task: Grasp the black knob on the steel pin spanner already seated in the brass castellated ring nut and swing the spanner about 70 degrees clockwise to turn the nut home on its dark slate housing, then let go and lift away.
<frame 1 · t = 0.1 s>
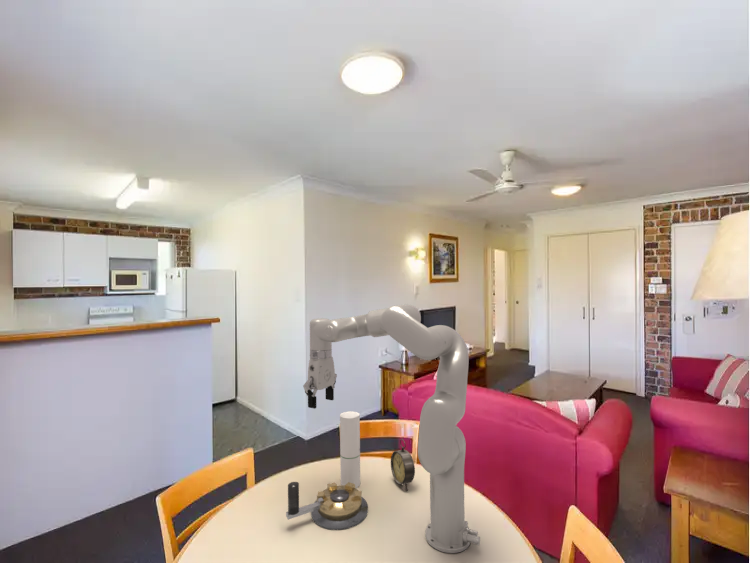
hand: (321, 403, 126), 31 cm above the table, tool pointing down, fingers open, 9 cm apart
cylindrical container: (350, 484, 132), on the table
housing: (339, 511, 116), on the table
alarm clock: (403, 485, 131), on the table
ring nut: (324, 493, 113), point 7 cm above the table, hinge at 0.0°
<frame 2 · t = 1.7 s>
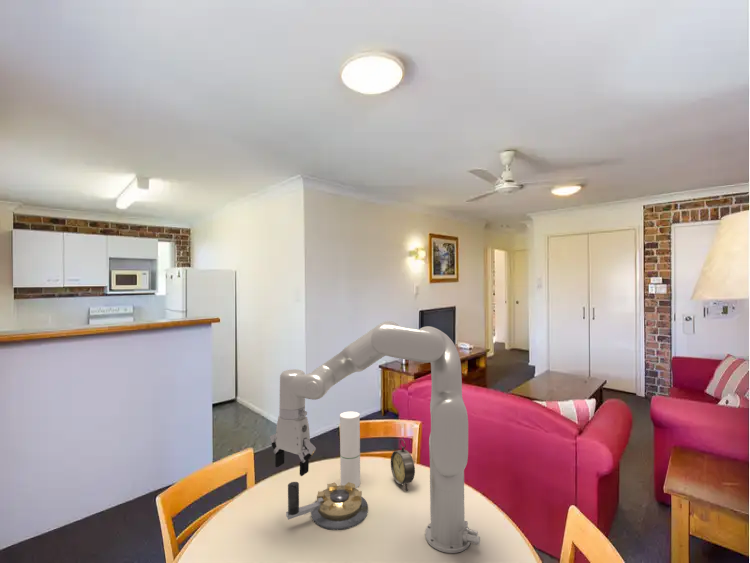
hand: (291, 469, 109), 17 cm above the table, tool pointing down, fingers open, 9 cm apart
nothing on the table moved.
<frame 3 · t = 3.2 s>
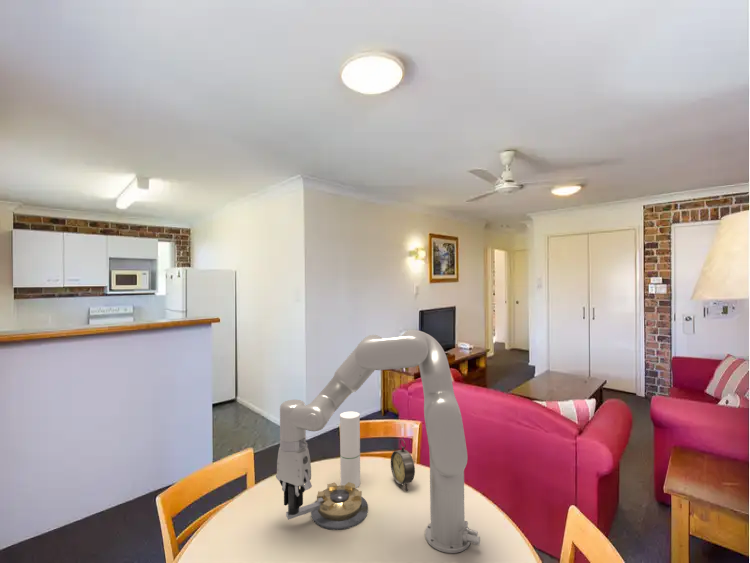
hand: (293, 504, 108), 7 cm above the table, tool pointing down, fingers closed on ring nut, 3 cm apart
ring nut: (324, 493, 113), point 7 cm above the table, hinge at 0.1°, touching gripper
everything else where it was.
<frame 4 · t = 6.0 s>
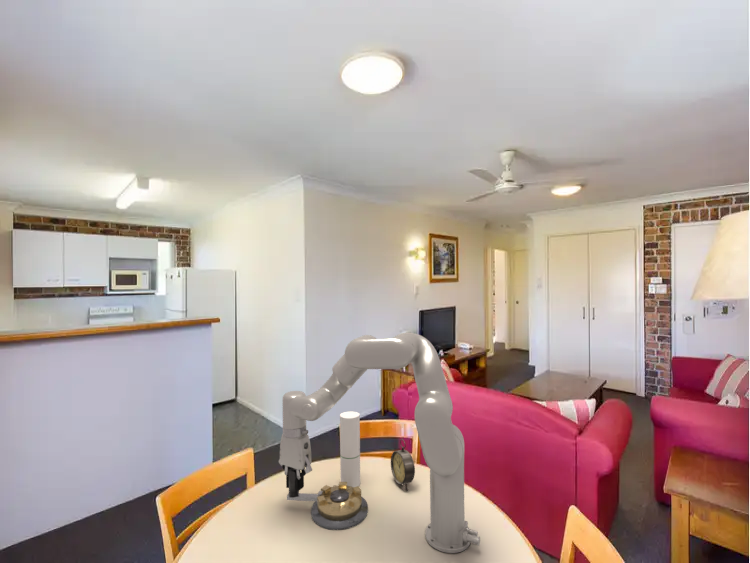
hand: (295, 487, 118), 7 cm above the table, tool pointing down, fingers closed on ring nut, 3 cm apart
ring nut: (324, 488, 116), point 7 cm above the table, hinge at -35.1°, touching gripper
everything else where it was.
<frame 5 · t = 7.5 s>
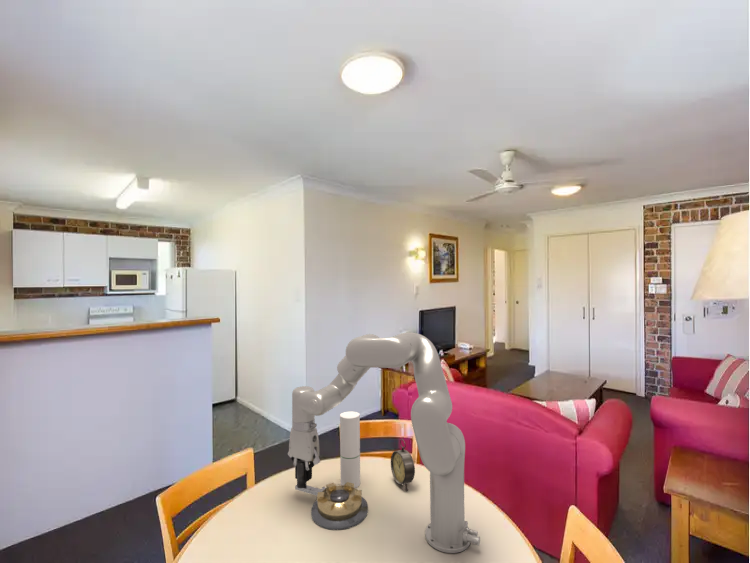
hand: (303, 477, 123), 7 cm above the table, tool pointing down, fingers closed on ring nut, 3 cm apart
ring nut: (326, 485, 118), point 7 cm above the table, hinge at -56.3°, touching gripper
everything else where it was.
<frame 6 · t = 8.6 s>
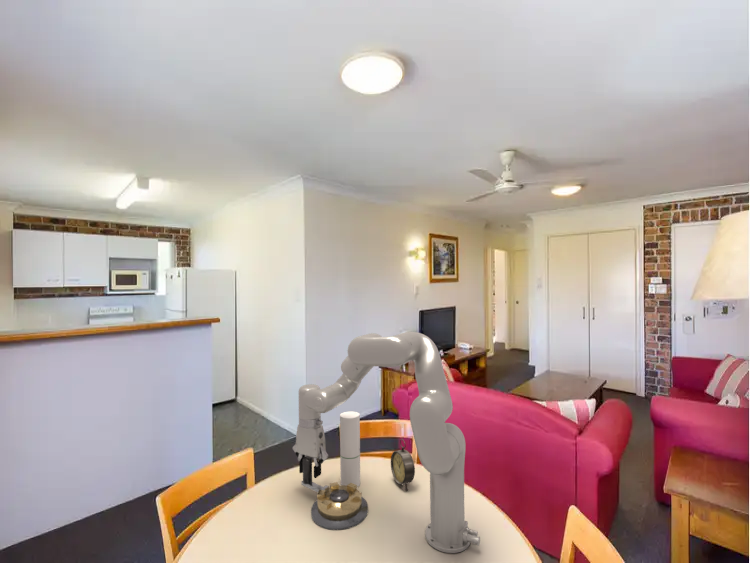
hand: (310, 473, 126), 7 cm above the table, tool pointing down, fingers open, 5 cm apart
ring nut: (328, 483, 119), point 7 cm above the table, hinge at -67.1°
everything else where it was.
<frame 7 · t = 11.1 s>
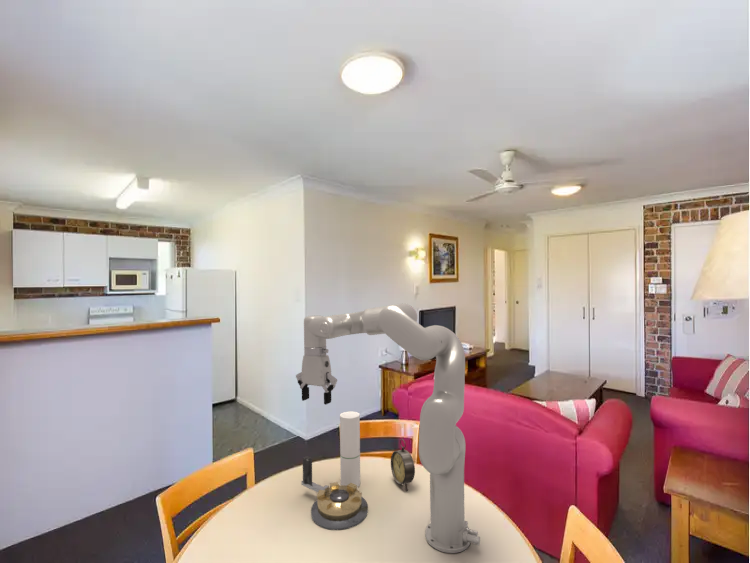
hand: (316, 401, 125), 32 cm above the table, tool pointing down, fingers open, 9 cm apart
nothing on the table moved.
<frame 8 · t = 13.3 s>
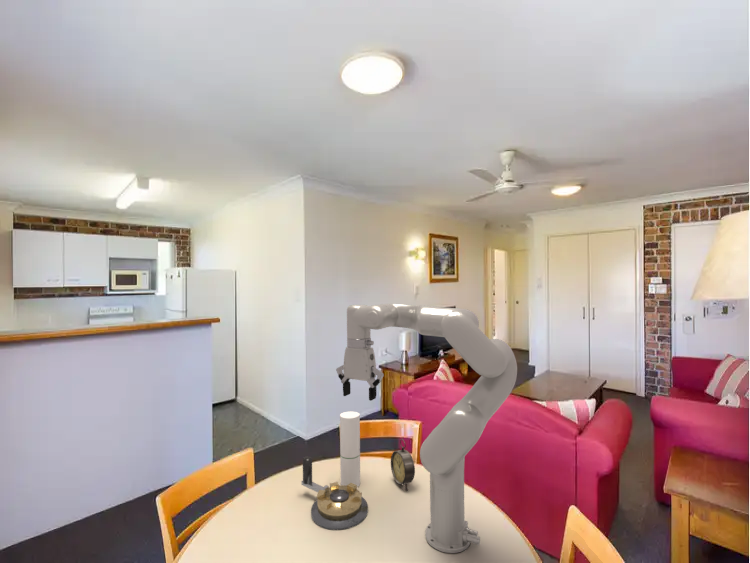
hand: (359, 397, 116), 36 cm above the table, tool pointing down, fingers open, 9 cm apart
nothing on the table moved.
at the end: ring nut at -67° (first picture: +0°); the gripper is holding nothing; cylindrical container moved 0.2 cm from its start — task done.
